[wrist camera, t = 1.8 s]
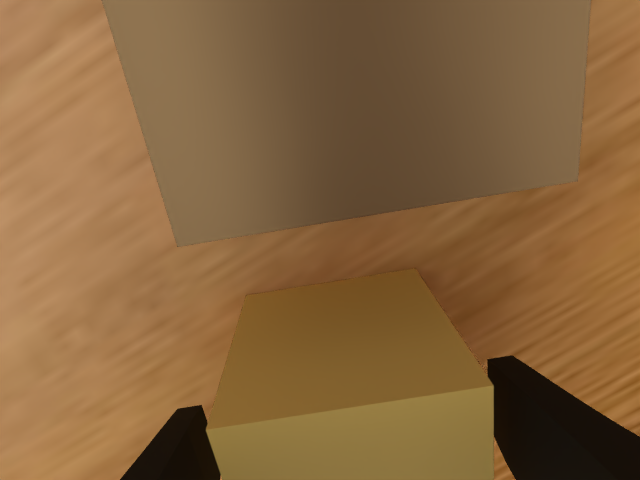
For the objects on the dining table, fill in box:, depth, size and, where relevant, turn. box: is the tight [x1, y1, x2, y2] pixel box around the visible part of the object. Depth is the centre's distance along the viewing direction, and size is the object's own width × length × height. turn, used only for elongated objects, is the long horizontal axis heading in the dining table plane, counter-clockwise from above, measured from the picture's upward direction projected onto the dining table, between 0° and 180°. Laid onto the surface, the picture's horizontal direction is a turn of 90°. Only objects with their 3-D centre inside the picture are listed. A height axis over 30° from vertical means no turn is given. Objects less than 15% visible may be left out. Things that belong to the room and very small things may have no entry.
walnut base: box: [102, 0, 591, 247], centre depth 7 cm, size 7×7×4 cm
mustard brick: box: [206, 268, 494, 480], centre depth 10 cm, size 5×5×5 cm
